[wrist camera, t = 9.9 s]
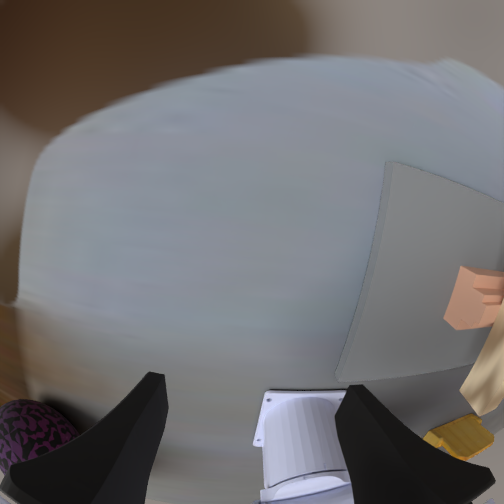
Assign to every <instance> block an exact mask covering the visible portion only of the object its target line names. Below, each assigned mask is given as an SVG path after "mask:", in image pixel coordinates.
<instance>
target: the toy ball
mask: <svg viewBox="0 0 504 504" xmlns="http://www.w3.org/2000/svg"><path fill="white" fill-rule="evenodd" d="M78 436H80V435H79V433H78V432H77V430H76V429H75V428H74V426H73V425H72V424H71V423H70V422H69V421H68V420H67V419H66V418H65V417H64V416H63V415H61V414H60V413H59V412H58V411H56V410H54V409H53V408H51V407H49V406H47V405H45V404H43V403H40V402H37V401H33V400H27V399H19V400H13V401H10V402H8V403H6V404H4V405H3V406H1V407H0V469H1V471H2V472H3V473H4V475H5V474H6V472H7V470H8V469H9V467H10V466H11V465H12V464H16V463H20V462H23V461H27V460H30V459H33V458H36V457H39V456H41V455H44V454H46V453H48V452H50V451H53V450H55V449H57V448H59V447H61V446H63V445H65V444H67V443H68V442H70V441H72V440H73V439H75V438H77V437H78Z"/></svg>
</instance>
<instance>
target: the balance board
mask: <svg viewBox="0 0 504 504" xmlns="http://www.w3.org/2000/svg"><path fill="white" fill-rule="evenodd" d="M503 298H504V203H502V202H500V201H498V200H495V199H493V198H491V197H489V196H487V195H485V194H482V193H480V192H478V191H475V190H473V189H471V188H468V187H466V186H463V185H461V184H458V183H456V182H453V181H451V180H448V179H445V178H442V177H440V176H437V175H434V174H431V173H428V172H425V171H422V170H419V169H416V168H413V167H410V166H407V165H403V164H400V163H397V162H386V164H385V172H384V180H383V187H382V194H381V201H380V207H379V213H378V218H377V224H376V229H375V234H374V239H373V244H372V249H371V253H370V258H369V262H368V266H367V270H366V274H365V278H364V282H363V286H362V290H361V294H360V297H359V301H358V304H357V308H356V311H355V315H354V318H353V321H352V325H351V328H350V331H349V334H348V337H347V340H346V343H345V346H344V349H343V352H342V355H341V358H340V360H339V363H338V366H337V369H336V371H335V376H336V378H337V381H338V382H353V381H368V380H380V379H390V378H398V377H406V376H414V375H420V374H427V373H432V372H438V371H443V370H448V369H453V368H458V367H462V366H467V365H471V364H475V362H476V360H477V358H478V356H479V354H480V352H481V350H482V348H483V346H484V344H485V342H486V340H487V338H488V336H489V333H490V331H491V329H492V327H493V324H494V322H495V319H496V317H497V314H498V312H499V309H500V307H501V304H502V301H503Z"/></svg>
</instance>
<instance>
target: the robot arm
mask: <svg viewBox="0 0 504 504" xmlns="http://www.w3.org/2000/svg"><path fill="white" fill-rule="evenodd" d="M269 398H270V399H269ZM168 408H169V407H168V399H167V392H166V383H165V375H164V374H159V373H154V372H148V373H147V374H146V375H145V376H144V377H143V378H142V380H141V381H140V382H139V383H138V384H137V385H136V386H135V387H134V389H133V390H132V391H131V392H130V393H129V394H128V395H127V396H126V397H125V398H124V399H123V400H122V401H121V402H120V403H119V404H118V405H117V406H116V407H115V408H114V409H113V410H112V411H110V412H109V413H108V414H107V415H106V416H105V417H104V418H102V419H101V420H100V421H99V422H98V423H96V424H95V425H94V426H92V427H91V428H90V429H88V430H87V431H86V432H84V433H83V434H81V435H80V436H78V437H77V438H75V439H73V440H72V441H70V442H68V443H67V444H65V445H63V446H61V447H59V448H57V449H55V450H53V451H50V452H48V453H46V454H44V455H41V456H39V457H36V458H33V459H30V460H27V461H23V462H20V463H16V464H12V465H11V466H10V467H9V469H8V470H7V472H6V474H5V476H4V478H3V480H2V482H1V485H0V491H2V492H3V493H4V494H5V495H7V496H8V497H9V498H11V499H12V500H13V501H15V502H16V503H17V504H144V503H145V497H146V491H147V485H148V480H149V476H150V472H151V469H152V465H153V462H154V459H155V456H156V453H157V450H158V447H159V444H160V441H161V438H162V435H163V432H164V428H165V423H166V418H167V413H168ZM253 445H254V446H258V447H262V448H263V469H264V486H265V489H263V490H260V493H261V500H255V501H253V502H252V504H472V502H471V501H473V500H474V499H476V498H477V497H478V496H480V495H481V494H482V493H483V492H485V491H486V490H487V489H489V488H490V487H491V486H492V485H493V484H494V483H495V481H496V480H495V478H494V476H493V474H492V473H491V471H490V469H489V468H487V467H483V466H479V465H475V464H471V463H468V462H466V461H463V460H460V459H458V458H455V457H453V456H451V455H449V454H447V453H445V452H443V451H441V450H439V449H437V448H436V447H434V446H432V445H431V444H429V443H428V442H426V441H425V440H423V439H422V438H420V437H419V436H418V435H416V434H415V433H414V432H413V431H411V430H410V429H409V428H408V427H406V426H405V425H404V424H403V423H402V422H401V421H400V420H398V419H397V418H396V417H395V416H394V415H393V414H392V413H391V412H390V411H389V410H388V409H387V408H386V407H385V406H384V405H383V404H382V403H381V402H380V401H379V400H378V399H377V398H376V397H375V396H374V395H373V394H372V393H371V392H370V391H369V390H368V389H367V388H366V387H365V386H364V385H349V387H348V389H347V391H346V390H334V391H273V390H269V391H266V392H265V394H264V398H263V403H262V407H261V411H260V416H259V420H258V424H257V428H256V433H255V437H254V441H253ZM0 504H11V503H9V502H8V501H7V500H5V499H4V498H3V497H1V496H0ZM484 504H495V502H494V500H493V498H491V499H489V500H488V501H487V502H485V503H484Z"/></svg>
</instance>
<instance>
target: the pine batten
mask: <svg viewBox="0 0 504 504" xmlns="http://www.w3.org/2000/svg"><path fill="white" fill-rule="evenodd" d="M459 391H460V392H461V394H462V395H463V396H464V397H465V399H466V400H467V401H468V403H469V404H470V405H471V407H472V408H473V409H474V411H475V412H476V413H477V415H478V416H479V417H480V416H482V415H484V414H486V413H488V412H490V411H492V410H494V409H496V408H497V406H498V405H499V403H500V402H501V400H502V399H503V398H504V298H503V301H502V304H501V307H500V309H499V312H498V314H497V317H496V319H495V322H494V324H493V327H492V329H491V331H490V333H489V336H488V338H487V340H486V342H485V344H484V346H483V348H482V350H481V352H480V354H479V356H478V358H477V360H476V362H475V364H474V366H473V368H472V369H471V371H470V373H469V375H468V376H467V378H466V380H465V382H464V383H463V385H462V387H461V388H460V390H459Z"/></svg>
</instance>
